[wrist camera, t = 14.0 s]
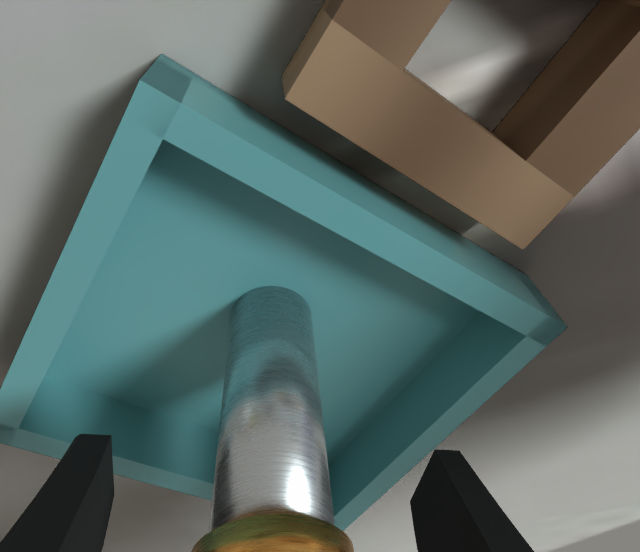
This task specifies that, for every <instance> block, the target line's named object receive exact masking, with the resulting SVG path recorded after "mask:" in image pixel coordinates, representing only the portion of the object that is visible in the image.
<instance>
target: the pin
mask: <svg viewBox="0 0 640 552" xmlns="http://www.w3.org/2000/svg"><path fill="white" fill-rule="evenodd" d="M191 552H354V549H353V545H352V542H351V540H350V539H349V537H348V536H347V535H346V534H345V533H344V532H343V531H342V530H341V529H339V528H338V527H336V526H335V524H334V515H333V506H332V497H331V488H330V479H329V469H328V460H327V451H326V442H325V433H324V424H323V415H322V406H321V397H320V388H319V378H318V369H317V360H316V351H315V342H314V333H313V324H312V315H311V310H310V307H309V305H308V303H307V302H306V301H305V299H304V298H303V297H302V296H300V295H299V294H298V293H296V292H294V291H292V290H290V289H287V288H284V287H278V286H265V287H260V288H256V289H253V290H251V291H249V292H247V293H245V294H244V295H242V296H241V297H240V298H239V299H238V300H237V301H236V303H235V304H234V306H233V308H232V311H231V316H230V326H229V336H228V346H227V356H226V366H225V376H224V386H223V396H222V406H221V417H220V427H219V437H218V447H217V457H216V467H215V477H214V487H213V497H212V507H211V518H210V528H209V533H207V534H206V535H205V536H203V537H202V538H201V539H200V540H199V541H198V542H197V543H196V545H195V546H194V547H193V549H192V551H191Z"/></svg>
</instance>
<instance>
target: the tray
mask: <svg viewBox="0 0 640 552" xmlns="http://www.w3.org/2000/svg"><path fill="white" fill-rule="evenodd" d="M265 286H278V287H284V288H287V289H290V290H292V291H294V292H296V293H298V294H299V295H300V296H302V297H303V298H304V299H305V301H306V302H307V303H308V305H309V307H310V310H311V315H312V324H313V333H314V342H315V351H316V360H317V369H318V378H319V388H320V397H321V406H322V415H323V424H324V433H325V442H326V451H327V460H328V469H329V479H330V488H331V497H332V506H333V515H334V524H335V526H336V527H338V528H339V529H341V530H342V531H344V530H345V529H346V528H347V527H348V526H349V525H350V524H351V523H352V522H353V521H355V520H356V519H357V518H358V517H359V516H360V515H361V514H362V513H363V512H364V511H366V510H367V509H368V508H369V507H370V506H371V505H372V504H373V503H374V502H375V501H377V500H378V499H379V498H380V497H381V496H382V495H383V494H384V493H385V492H387V491H388V490H389V489H390V488H391V487H392V486H393V485H394V484H395V483H396V482H398V481H399V480H400V479H401V478H402V477H403V476H404V475H405V474H406V473H407V472H409V471H410V470H411V469H412V468H413V467H414V466H415V465H416V464H417V463H418V462H420V461H421V460H422V459H423V458H424V457H425V456H426V455H427V454H428V453H429V452H431V451H432V450H433V449H434V448H435V447H436V446H437V445H438V444H439V443H441V442H442V441H443V440H444V439H445V438H446V437H447V436H448V435H449V434H450V433H452V432H453V431H454V430H455V429H456V428H457V427H458V426H459V425H460V424H461V423H463V422H464V421H465V420H466V419H467V418H468V417H469V416H470V415H471V414H472V413H474V412H475V411H476V410H477V409H478V408H479V407H480V406H481V405H482V404H484V403H485V402H486V401H487V400H488V399H489V398H490V397H491V396H492V395H493V394H495V393H496V392H497V391H498V390H499V389H500V388H501V387H502V386H503V385H504V384H506V383H507V382H508V381H509V380H510V379H511V378H512V377H513V376H514V375H515V374H517V373H518V372H519V371H520V370H521V369H522V368H523V367H524V366H525V365H527V364H528V363H529V362H530V361H531V360H532V359H533V358H534V357H535V356H536V355H538V354H539V353H540V352H541V351H542V350H543V349H544V348H545V347H546V346H547V345H549V344H550V343H551V342H552V341H553V340H554V339H555V338H556V337H557V336H558V335H560V334H561V333H562V332H563V331H564V330H565V329H566V328H567V325H566V324H565V323H564V322H563V320H562V319H561V318H560V316H559V315H558V314H557V313H556V311H555V310H554V309H553V308H552V306H551V305H550V304H549V302H548V301H547V300H546V299H545V297H544V296H543V295H542V294H541V292H540V291H539V290H538V288H537V287H536V286H535V285H534V283H533V282H532V281H531V280H530V278H529V277H528V276H527V275H525V274H524V273H522V272H520V271H519V270H517V269H515V268H514V267H512V266H511V265H509V264H507V263H506V262H504V261H502V260H501V259H499V258H497V257H496V256H494V255H492V254H491V253H489V252H487V251H486V250H484V249H483V248H481V247H479V246H478V245H476V244H474V243H473V242H471V241H469V240H468V239H466V238H464V237H463V236H461V235H460V234H458V233H456V232H455V231H453V230H451V229H450V228H448V227H446V226H445V225H443V224H441V223H440V222H438V221H437V220H435V219H433V218H432V217H430V216H428V215H427V214H425V213H423V212H422V211H420V210H418V209H417V208H415V207H413V206H412V205H410V204H409V203H407V202H405V201H404V200H402V199H400V198H399V197H397V196H395V195H394V194H392V193H390V192H389V191H387V190H386V189H384V188H382V187H381V186H379V185H377V184H376V183H374V182H372V181H371V180H369V179H367V178H366V177H364V176H362V175H361V174H359V173H358V172H356V171H354V170H353V169H351V168H349V167H348V166H346V165H344V164H343V163H341V162H339V161H338V160H336V159H335V158H333V157H331V156H330V155H328V154H326V153H325V152H323V151H321V150H320V149H318V148H316V147H315V146H313V145H311V144H310V143H308V142H307V141H305V140H303V139H302V138H300V137H298V136H297V135H295V134H293V133H292V132H290V131H288V130H287V129H285V128H284V127H282V126H280V125H279V124H277V123H275V122H274V121H272V120H270V119H269V118H267V117H265V116H264V115H262V114H260V113H259V112H257V111H256V110H254V109H252V108H251V107H249V106H247V105H246V104H244V103H242V102H241V101H239V100H237V99H236V98H234V97H233V96H231V95H229V94H228V93H226V92H224V91H223V90H221V89H219V88H218V87H216V86H214V85H213V84H211V83H209V82H208V81H206V80H205V79H203V78H201V77H200V76H198V75H196V74H195V73H193V72H191V71H190V70H188V69H186V68H185V67H183V66H182V65H180V64H178V63H177V62H175V61H173V60H172V59H170V58H168V57H167V56H165V55H163V54H161V55H160V56H159V57H158V59H157V60H156V61H155V62H154V63H153V64H152V66H151V67H150V68H149V69H148V70H147V72H146V73H145V74H144V75H143V76H142V78H141V79H140V80H139V82H138V85H137V87H136V89H135V91H134V93H133V96H132V98H131V100H130V102H129V105H128V107H127V109H126V111H125V113H124V116H123V118H122V120H121V122H120V125H119V127H118V129H117V131H116V133H115V136H114V138H113V140H112V142H111V145H110V147H109V149H108V151H107V153H106V156H105V158H104V160H103V162H102V164H101V167H100V169H99V171H98V173H97V176H96V178H95V180H94V182H93V184H92V187H91V189H90V191H89V193H88V196H87V198H86V200H85V202H84V204H83V207H82V209H81V211H80V213H79V216H78V218H77V220H76V222H75V224H74V227H73V229H72V231H71V233H70V236H69V238H68V240H67V242H66V244H65V247H64V249H63V251H62V253H61V255H60V258H59V260H58V262H57V264H56V267H55V269H54V271H53V273H52V275H51V278H50V280H49V282H48V284H47V287H46V289H45V291H44V293H43V295H42V298H41V300H40V302H39V304H38V307H37V309H36V311H35V313H34V315H33V318H32V320H31V322H30V324H29V327H28V329H27V331H26V333H25V335H24V338H23V340H22V342H21V344H20V346H19V349H18V351H17V353H16V355H15V358H14V360H13V362H12V364H11V366H10V369H9V371H8V373H7V375H6V378H5V380H4V382H3V384H2V386H1V389H0V443H2V444H6V445H10V446H13V447H17V448H21V449H24V450H28V451H32V452H35V453H39V454H43V455H46V456H50V457H54V458H57V459H62V457H63V456H64V454H65V453H66V451H67V450H68V448H69V446H70V445H71V443H72V441H73V440H74V438H75V437H76V436H78V435H79V434H98V435H111V437H112V458H113V474H116V475H120V476H123V477H127V478H131V479H134V480H138V481H142V482H145V483H149V484H153V485H156V486H160V487H164V488H167V489H171V490H175V491H179V492H182V493H186V494H190V495H193V496H197V497H201V498H204V499H208V500H212V497H213V487H214V477H215V467H216V457H217V447H218V437H219V427H220V417H221V406H222V396H223V386H224V376H225V366H226V356H227V346H228V336H229V326H230V316H231V311H232V308H233V306H234V304H235V303H236V301H237V300H238V299H239V298H240V297H241V296H242V295H244V294H245V293H247V292H249V291H251V290H253V289H256V288H260V287H265Z"/></svg>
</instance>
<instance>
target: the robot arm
mask: <svg viewBox="0 0 640 552" xmlns="http://www.w3.org/2000/svg"><path fill="white" fill-rule="evenodd" d="M113 498H114V479H113V458H112V437H111V435H98V434H79V435H78V436H76V437H75V438H74V440H73V441H72V443H71V445H70V446H69V448H68V450H67V451H66V453H65V454H64V456H63V457H62V459H61V460H60V462H59V463H58V465H57V466H56V468H55V469H54V471H53V472H52V474H51V475H50V477H49V478H48V480H47V481H46V482H45V484H44V485H43V487H42V488H41V489H40V491H39V492H38V494H37V495H36V496H35V498H34V499H33V501H32V502H31V503H30V505H29V506H28V507H27V509H26V510H25V511H24V512H23V514H22V515H21V516H20V518H19V519H18V520H17V522H16V523H15V524H14V526H13V527H12V528H11V530H10V531H9V532H8V533H7V535H6V536H5V537H4V539H3V540H2V541H1V542H0V552H101V550H102V547H103V544H104V539H105V535H106V530H107V526H108V521H109V516H110V512H111V507H112V502H113ZM410 504H411V511H412V518H413V525H414V531H415V537H416V543H417V549H418V552H534V551H533V550H532V548H531V547H530V546H529V544H528V543H527V542H526V541H525V539H524V538H523V537H522V535H521V534H520V533H519V531H518V530H517V529H516V528H515V526H514V525H513V524H512V522H511V521H510V520H509V518H508V517H507V516H506V514H505V513H504V512H503V510H502V509H501V508H500V506H499V505H498V504H497V502H496V501H495V499H494V498H493V497H492V495H491V494H490V493H489V491H488V490H487V488H486V487H485V486H484V484H483V483H482V482H481V480H480V479H479V477H478V476H477V475H476V473H475V472H474V471H473V469H472V468H471V466H470V465H469V464H468V462H467V461H466V460H465V458H464V457H463V455H462V454H461V453H460V451H453V450H434V453H433V455H432V457H431V459H430V461H429V463H428V465H427V467H426V469H425V471H424V474H423V476H422V478H421V480H420V482H419V484H418V486H417V488H416V490H415V492H414V495H413V497H412V499H411V501H410Z"/></svg>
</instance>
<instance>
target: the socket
mask: <svg viewBox="0 0 640 552" xmlns="http://www.w3.org/2000/svg"><path fill="white" fill-rule="evenodd" d="M450 1H451V0H325V2H324V4H323V5H322V7H321V9H320V11H319V12H318V14H317V16H316V18H315V19H314V21H313V23H312V24H311V26H310V28H309V30H308V31H307V33H306V35H305V36H304V38H303V40H302V42H301V43H300V45H299V47H298V49H297V50H296V52H295V54H294V55H293V57H292V59H291V61H290V62H289V64H288V66H287V67H286V69H285V71H284V73H283V74H282V76H281V77H282V84H283V90H284V97H285V100H287V101H289V102H290V103H292V104H293V105H295V106H297V107H298V108H300V109H301V110H303V111H304V112H306V113H308V114H309V115H311V116H312V117H314V118H315V119H317V120H319V121H320V122H322V123H323V124H325V125H327V126H328V127H330V128H331V129H333V130H334V131H336V132H338V133H339V134H341V135H342V136H344V137H346V138H347V139H349V140H350V141H352V142H353V143H355V144H357V145H358V146H360V147H361V148H363V149H364V150H366V151H368V152H369V153H371V154H372V155H374V156H376V157H377V158H379V159H380V160H382V161H383V162H385V163H387V164H388V165H390V166H391V167H393V168H394V169H396V170H398V171H399V172H401V173H402V174H404V175H406V176H407V177H409V178H410V179H412V180H413V181H415V182H417V183H418V184H420V185H421V186H423V187H425V188H426V189H428V190H429V191H431V192H432V193H434V194H436V195H437V196H439V197H440V198H442V199H443V200H445V201H447V202H448V203H450V204H451V205H453V206H455V207H456V208H458V209H459V210H461V211H462V212H464V213H466V214H467V215H469V216H470V217H472V218H473V219H475V220H477V221H478V222H480V223H481V224H483V225H485V226H486V227H488V228H489V229H491V230H492V231H494V232H496V233H497V234H499V235H500V236H502V237H504V238H505V239H507V240H508V241H510V242H511V243H513V244H515V245H516V246H518V247H519V248H521V249H522V250H524V249H525V248H526V247H527V246H528V245H529V243H530V242H531V241H532V240H533V239H534V238H535V237H536V236H537V235H538V234H539V233H540V232H541V231H542V230H543V229H544V228H545V227H546V226H547V225H548V224H549V223H550V222H551V221H552V219H553V218H554V217H555V216H556V215H557V214H558V213H559V212H560V211H561V210H562V209H563V208H564V207H565V206H566V205H567V204H568V203H569V202H570V201H571V200H572V199H573V198H574V197H575V196H576V194H577V193H578V192H579V191H580V190H581V189H582V188H583V187H584V186H585V185H586V184H587V183H588V182H589V181H590V180H591V179H592V178H593V177H594V176H595V175H596V174H597V173H598V172H599V170H600V169H601V168H602V167H603V166H604V165H605V164H606V163H607V162H608V161H609V160H610V159H611V158H612V157H613V156H614V155H615V154H616V153H617V152H618V151H619V150H620V149H621V148H622V147H623V145H624V144H625V143H626V142H627V141H628V140H629V139H630V138H631V137H632V136H633V135H634V134H635V133H636V132H637V131H638V130H639V129H640V0H600V2H599V3H598V4H597V5H596V7H595V8H594V9H593V10H592V11H591V13H590V14H589V15H588V16H587V18H586V19H585V20H584V21H583V22H582V24H581V25H580V26H579V27H578V29H577V30H576V31H575V32H574V33H573V35H572V36H571V37H570V38H569V40H568V41H567V42H566V43H565V44H564V46H563V47H562V48H561V49H560V51H559V52H558V53H557V54H556V55H555V57H554V58H553V59H552V60H551V61H550V63H549V64H548V65H547V66H546V68H545V69H544V70H543V71H542V72H541V74H540V75H539V76H538V77H537V79H536V80H535V81H534V82H533V83H532V85H531V86H530V87H529V88H528V90H527V91H526V92H525V93H524V94H523V96H522V97H521V98H520V99H519V101H518V102H517V103H516V104H515V105H514V107H513V108H512V109H511V110H510V112H509V113H508V114H507V115H506V116H505V118H504V119H503V120H502V121H501V123H500V124H499V125H498V126H497V127H496V129H495V130H494V131H493V132H491V131H489V130H488V129H487V128H485V127H484V126H482V125H481V124H480V123H478V122H477V121H476V120H474V119H473V118H472V117H470V116H469V115H467V114H466V113H465V112H463V111H462V110H461V109H459V108H458V107H457V106H455V105H454V104H452V103H451V102H450V101H448V100H447V99H446V98H444V97H443V96H442V95H440V94H439V93H438V92H436V91H435V90H433V89H432V88H431V87H429V86H428V85H427V84H425V83H424V82H423V81H421V80H420V79H418V78H417V77H416V76H414V75H413V74H412V73H410V72H409V71H408V70H406V69H405V67H406V65H407V64H408V62H409V61H410V59H411V58H412V57H413V55H414V54H415V52H416V51H417V49H418V48H419V46H420V45H421V44H422V42H423V41H424V39H425V38H426V36H427V35H428V33H429V32H430V30H431V29H432V28H433V26H434V25H435V23H436V22H437V20H438V19H439V17H440V16H441V14H442V13H443V12H444V10H445V9H446V7H447V6H448V4H449V3H450Z"/></svg>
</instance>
